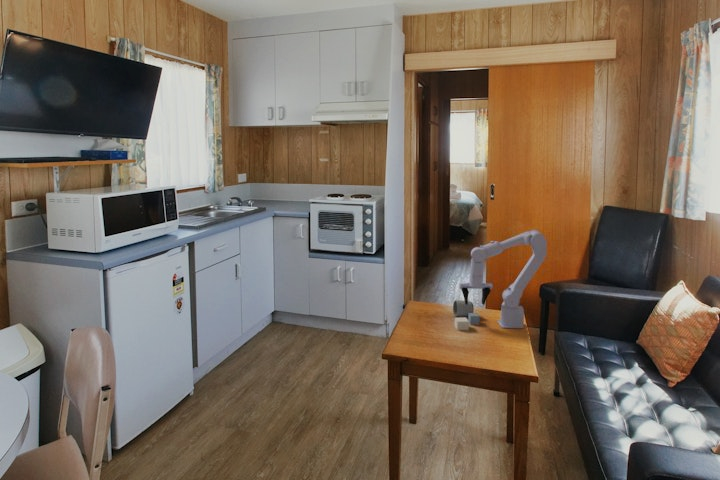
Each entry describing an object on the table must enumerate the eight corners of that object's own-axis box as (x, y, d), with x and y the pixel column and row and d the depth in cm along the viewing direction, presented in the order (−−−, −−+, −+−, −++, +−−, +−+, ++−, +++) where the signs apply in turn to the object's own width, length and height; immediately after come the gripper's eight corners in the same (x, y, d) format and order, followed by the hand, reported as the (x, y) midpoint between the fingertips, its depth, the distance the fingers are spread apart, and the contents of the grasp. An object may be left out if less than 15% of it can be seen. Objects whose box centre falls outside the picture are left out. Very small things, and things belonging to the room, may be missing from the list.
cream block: (465, 326, 226) (466, 317, 225) (468, 330, 221) (469, 321, 220) (454, 326, 225) (454, 317, 225) (457, 330, 221) (457, 321, 220)
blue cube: (476, 321, 231) (477, 313, 231) (479, 324, 228) (479, 316, 227) (467, 321, 231) (468, 313, 230) (470, 324, 227) (470, 316, 226)
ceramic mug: (473, 318, 235) (474, 302, 233) (456, 319, 234) (457, 302, 232) (466, 311, 245) (467, 295, 244) (450, 311, 244) (451, 296, 243)
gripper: (490, 272, 229) (488, 301, 232) (458, 272, 228) (456, 301, 231) (494, 276, 222) (492, 306, 225) (462, 276, 221) (460, 306, 224)
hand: (474, 304), depth 228 cm, fingers open, 7 cm apart
